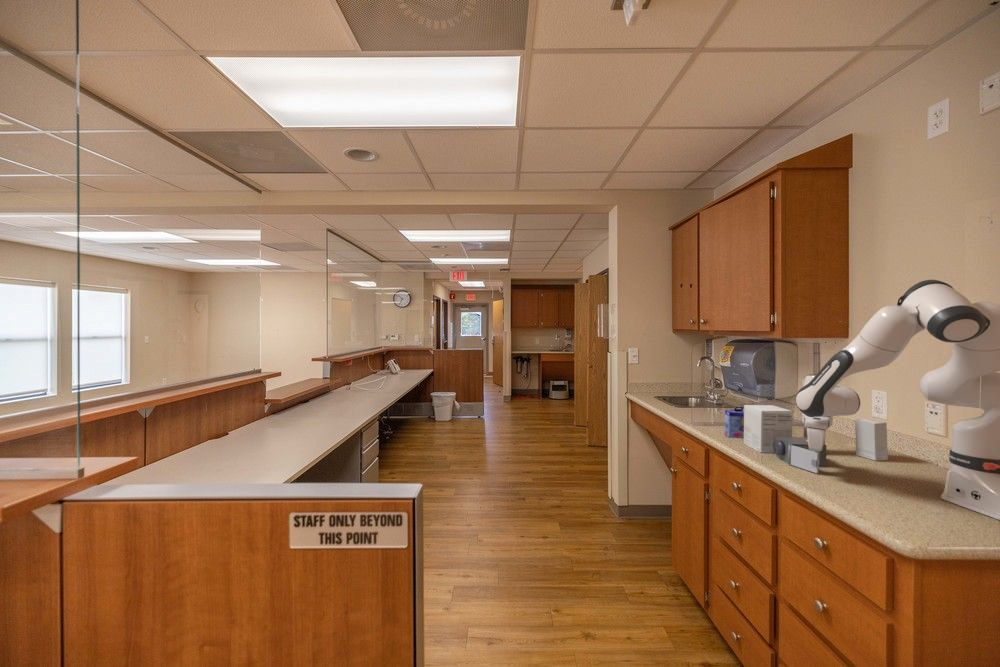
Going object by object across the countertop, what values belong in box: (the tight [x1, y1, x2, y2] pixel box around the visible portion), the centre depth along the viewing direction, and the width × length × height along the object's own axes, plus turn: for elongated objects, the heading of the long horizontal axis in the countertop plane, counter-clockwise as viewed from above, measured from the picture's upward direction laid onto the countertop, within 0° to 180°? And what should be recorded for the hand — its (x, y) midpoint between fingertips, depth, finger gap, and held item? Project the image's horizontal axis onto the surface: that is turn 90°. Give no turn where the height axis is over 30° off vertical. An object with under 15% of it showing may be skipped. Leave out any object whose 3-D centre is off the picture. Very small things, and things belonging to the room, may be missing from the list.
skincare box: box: [854, 418, 889, 462], centre depth 169 cm, size 8×6×15 cm
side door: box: [787, 445, 820, 474], centre depth 154 cm, size 1×11×7 cm, turn 18°
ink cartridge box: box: [724, 406, 744, 439], centre depth 200 cm, size 10×6×14 cm, turn 85°
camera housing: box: [773, 436, 827, 467], centre depth 164 cm, size 11×14×9 cm
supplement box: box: [743, 404, 794, 454], centre depth 180 cm, size 13×13×18 cm
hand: (815, 456), depth 152 cm, fingers closed
